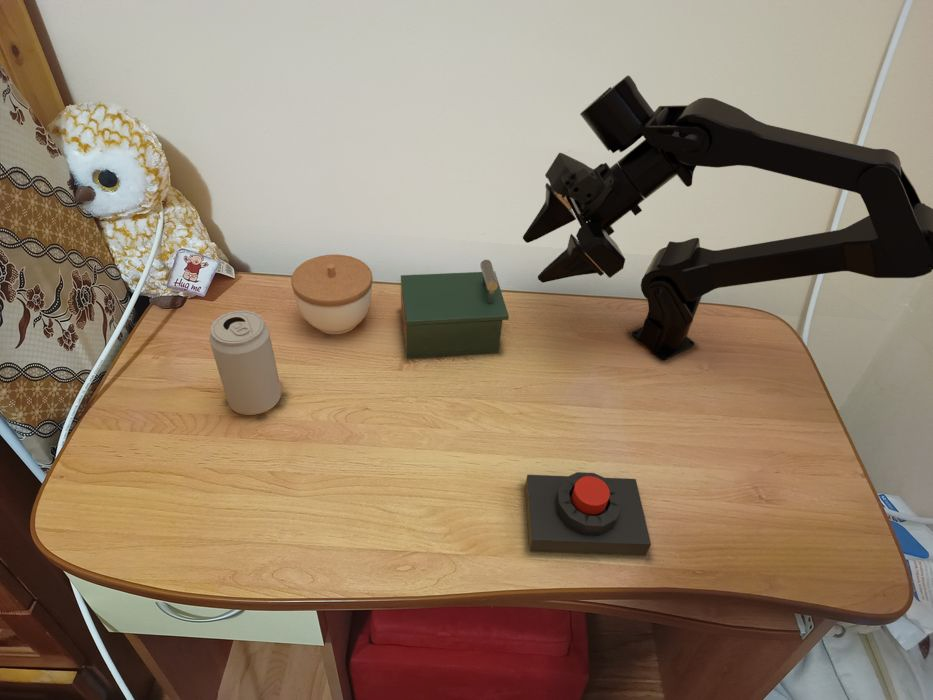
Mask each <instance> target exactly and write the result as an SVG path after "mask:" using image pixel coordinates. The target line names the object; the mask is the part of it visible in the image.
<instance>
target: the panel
mask: <svg viewBox="0 0 933 700" xmlns="http://www.w3.org/2000/svg"><path fill="white" fill-rule="evenodd" d="M585 476H593V477H597V478H599V479H601V480H602V481H603V482H605V483H606V485H607V486H608V488H609V491H610V497H609V500H608V503H607V505H606V508H605V510H604V511H603V512H601V513H600V514H597V515H587V514H584V513H582V512H580V511H579V510H578V509H577V508H576V507H575V506H574V504H573V502H572V493H573V490H574V486H575V484H576V482H577V481H578V480H579V479H580V478H582V477H585ZM638 486H639V485H638V483H637V479H636V478H624V477H623V478H621V477H604V476H601V475H599V474H597V473H595V472H583V471H582V472H580V471H578V472H575V473H572V474H571V475H547V474H546V475H545V474H526V479H525V484H524V492H525V493H524V494H525V507H526V519H527V520H526V521H527V535H528V544H529V545H528V548H529V552H535V553H537V552H539V553H559V554H560V553H564V554H565V553H566V554H590V555H591V554H592V555H596V554H597V555H618V556H621V555H622V556H644V557H646V556H647V554H648V552H649V551H650V548H651V545H652V543H651V538H650V533H649V530H648V529H649V528H648V526H647V521H646V516H645V512H644V509H643V504H642V500H641V496H640V491H639V487H638Z"/></svg>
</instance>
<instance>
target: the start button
mask: <svg viewBox="0 0 933 700" xmlns="http://www.w3.org/2000/svg"><path fill="white" fill-rule="evenodd" d="M609 497H610V491H609V488H608V486H607V485H606V483H605V482H603V481H602V480H601V479H599V478H597V477H593V476H585V477H582V478H580V479H579V480H578V481H577V482H576V484H575V486H574V490H573V493H572V502H573V504H574V506H575V507H576V508H577V509H578V510H579V511H580V512H582V513H584V514H587V515H597V514H600V513H601V512H603V511H604V510H605V508H606V505H607V503H608V500H609Z"/></svg>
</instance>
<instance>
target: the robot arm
mask: <svg viewBox="0 0 933 700" xmlns="http://www.w3.org/2000/svg"><path fill="white" fill-rule="evenodd" d="M579 115H580V116H581V118H582V119H583V120H584V121H585V123H586V124H587V126H588V127H589V128H590V130H591V131H592V132H593V133H594V135H595V136H596V137H597V139H599V141H600V142H601V144H602V145H603V147H605V149H606V150H607V151H608V152H610V151H611V153H612V154H614V153H617V152H618V151H619V153H623V152H624V151H626V150H627V149H629V148H630V147H631V146H633V145H634V144H635V143H636V142H638V141H639V140H640V139H641V138H642V137H643V138H644V139H643V140H642V141H641V142H640V143H639V144H637V146H635V147H634V148H632V149H631V150H630V151H629V152H628V153H626V154H625V155H624V156H623V157H621V158H620V159H619V160H618V161H617V162H615V163H614V164H613V165H612V166H609V165H608V163H607V162H605V163H600V164H599V165H598V166H596V167H595V168H592V167H590V166H588V165H587V164H586V163H584V162H582V161H580V160H578V159H576V158H573V157H572V156H570V155H567V154H565V153H562V152H558V153H557V155H556V157H555V158H554V160H553V162H552V163H551V164H550V166H549V167H548V170H547V171H546V172H545V179H547V180H548V182H549V183H548V182H546V183H545V200H544V202H543V205H542V207H541V208H540V210H539V212H538V213H537V215H536V216H535V218H534V219H533V220H532V222H531V224H530V225H529V226H528V228H527V230H526V231H525V232H524V234H523V236H522V240H523V241H524V242H525V243H527V244H529V243H531V242H534V241H537V240H539V239H541V238H542V237H544V236H546V235H549V234H550V233H552V232H554V231H556V230H559V229H560V228H562V227H565V226H567V225H568V224H570V223H572V222H575V221H576V220H577V222H578V224H579V226H580V227H579V228H578V231H577V233H576V235H575V236H574V235H573V234H572V233H571V234H570V235H569V238H568V243H567V247H566V249H565V250H563V252H562V253H560V254H559V255H558V256H556V257H555V259H554V260H553V261H551V262H550V263H549V264H548V265H547V266H546V267H544V269H543V270H542V271H541V272H539V274H538V275H537V280H539V281H540V282H541V283H547V282H553V281H557V280H558V281H559V280H563V279H567V278H572V277H578V276H585V275H586V276H587V275H592V274H597V275H598V276H599V277H600V276H601V277H602V276H603V275H606V276H607V277H608V278H612V277H613V276H615V275H617V274H618V273H619V272H621V270H623V269H624V268H625V267H624V266H625V262H626V258H625V256H624V255H623V252H622V251H621V249H620V247H619V245H618V243H616V241H615V240H614V239H613V238H612V237H611V235H613V234H614V233H615V230H614V228H613V225H614V224H615V223H617V222H618V221H619V220H621V219H622V218H623V217H624V216H626V215H627V214H628V213H629V212H631V213H632V214H633V215H634V216H635V217H636V216H637V215H639V214H640V213H641V212H642V211H643V209H642V208H641V206H640V204H641V203H642V202H644V201H645V200H646V199H648V198H649V197H650V196H652V195H653V194H654V193H655V192H657V191H658V190H659V189H660V188H662V187H664V185H666V184H667V183H668V182H670V181H671V180H672V179H673V178H675V177H676V176H677V177H678V178H679V181H681V183H682V184H683V185H685V186H686V187H687V188H689V187H691V186H692V185H693V177H694V172H695V170H696V167H705V168H707V167H708V168H727V167H736V166H740V167H741V166H742V167H751V168H756V169H758V170H759V169H760V170H764V171H767V172H771V173H775V174H779V175H784V176H787V177H791V178H796V179H799V180H804V181H808V182H812V183H816V184H820V185H824V186H828V187H831V188H835V189H839V190H844V191H848V192H852V193H856V194H859V195H860V198H861V199H862V201H863V204H864V206H865V208H866V211H867V213H868V216H866V217H863V218H862V219H860V220H858V221H856V222H854V223H852V224H850V225H848V226H846V227H843V228H841V229H835V230H831V231H825V232H819V233H813V234H807V235H801V236H796V237H789V238H783V239H777V240H772V241H765V242H759V243H753V244H748V245H741V246H736V247H730V248H725V249H724V248H723V249H718V250H717V249H716V250H715V249H714V250H713V249H708V248H705V247H701V244H700V243H701V242H700V237H693V238H690V239H687V240H683V241H668V243H667V244H666V246H665V247H663V248H660V249H659V250H658V251H657V252H656V253H655V255H654V256H653V258H652V259H651V262H650V263H649V265H648V267H647V269H646V271H645V272H644V275H643V276H642V279H641V281H640V290H641V292H642V294H643V297H644V298H645V299H646V300H647V305H648V311H647V315H646V318H645V319H644V322H643V325H642V327H640V328H637V329H635V330H633V331H632V332H631V337H632V338H633V339H635V340H636V341H637V342H639V343H640V344H641V345H642V346H643V347H644V348H646V349H647V350H649V351H650V352H651V353H652V354H653V355H655V356H656V357H657V358H659V359H660V360H661V361H667V360H668V359H671V358H673V357H675V356H677V355H679V354H681V353H683V352H685V351H687V350H689V349H691V348H693V347H694V345H695V342H694V341H693V340H692V339H691V338H689V337H688V334H689V331H690V328H691V326H692V324H693V321H694V318H695V316H696V314H697V310H698V307H699V305H700V303H701V300H702V297H703V296H705V295H706V294H709V293H710V292H712V291H714V290H716V289H720V288H728V287H734V286H735V287H736V286H742V285H750V284H758V283H764V282H774V281H780V280H788V279H794V278H802V277H803V278H804V277H810V276H818V275H824V274H832V273H841V272H850V273H853V274H858V275H863V276H867V277H871V278H875V279H914V278H919V277H924V276H926V275H928V274H930V273H932V272H933V208H932V207H930V206H929V205H926V203H923V202H922V200H921V199H920V197H919V194H918V193H917V190H916V189H915V186H914V185H913V184H912V182H911V180H910V179H909V177H908V176H907V174H906V172H905V171H904V170H903V167H902V162H901V160H900V156H899V155H898V154H896V152H895V151H892V150H890V149H887V148H872V147H867V146H864V145H863V146H862V145H859V144H853V143H850V142H845V141H841V140H837V139H832V138H828V137H823V136H819V135H815V134H810V133H805V132H801V131H797V130H793V129H788V128H784V127H779V126H775V125H771V124H766V123H765V122H762V121H759V120H757V119H756V118H754V117H752V116H751V115H749V114H748V113H747V112H745V111H744V110H742V109H741V108H738V107H736V106H733V105H731V104H729V103H726V102H724V101H722V100H719V99H717V98H714V97H701V98H697V99H696V100H694V101H692V102H691V103H689V104H686V105H683V104H682V105H659V106H658V107H657V108H656V109H655V110H653V108H652V107H651V106H650V104H649V103H648V102H647V101H646V99H645V98H644V96H643V95H642V94H641V92H640V91H639V89H638V87H637V84H636V83H635V81H634V80H633V78H632V77H631V76H630V75H626V76H625V77H623V79H621V80H620V81H618V82H617V83H616V84H615V85H614V86H612V87H611V86H609V87H608V88H606V90H605V91H604V92H602V93H601V94H600V95H599V96H598V97H597V98H595V99H594V100H593V101H592V102H591V103H590V104H589V105H587V106H586V107H585V109H583V111H581V112H580V113H579Z"/></svg>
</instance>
